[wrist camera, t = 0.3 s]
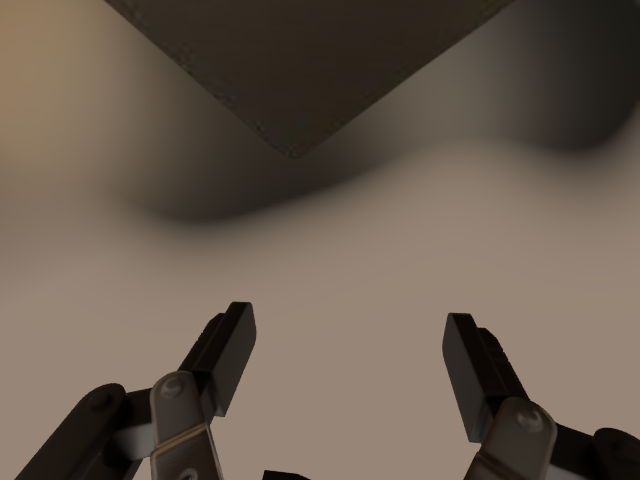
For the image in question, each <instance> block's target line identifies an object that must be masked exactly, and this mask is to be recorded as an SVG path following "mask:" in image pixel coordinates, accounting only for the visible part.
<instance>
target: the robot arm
mask: <svg viewBox="0 0 640 480" xmlns="http://www.w3.org/2000/svg"><path fill="white" fill-rule="evenodd" d="M255 341H256V326H255V319H254V314H253V308H252V304H251V303H250V302H232V303H231V304H230V306H229V308H228V309H227V311H226V313H219V314H218V315H216V316H215V317H214V318H213V319H211V320H210V321H209V323H208V324H207V326H206V327H205V329H204V330H203V333H201V335H200V336H199V338H198V341H196V342H195V344H194V346H193V347H192V349H191V350H190V352H189V354H188V355H187V357H186V358H185V359H184V361H183V363H182V364H181V366H180V367H179V369H178V370H177V371H175V372H172V373H169V374H167V375H165V376H164V377H162V378H161V379H160V380H158V381H157V382H156V384H155V385H154V386H153V387H152V388H149V389H144V390H139V391H134V392H129V393H126V391H125V389H124V387H123V386H122V385H120V384H117V383H110V384H106V385H102V386H100V387H98V388H96V389H94V390H92V391H91V392H89V393H88V394H87V395H85V397H83V398H82V399H81V400H80V401H79V403H78V404H77V405H76V406H75V408H74V409H73V410H72V411H71V412H70V413H69V415H68V416H67V417H66V418H65V419H64V421H63V422H62V423H61V424H60V425H59V427H58V428H57V429H56V430H55V431H54V433H53V434H52V435H51V436H50V437H49V439H48V440H47V441H46V442H45V443H44V445H43V446H42V447H41V448H40V449H39V451H38V452H37V453H36V454H35V455H34V457H33V458H32V459H31V460H30V462H29V463H28V464H27V465H26V466H25V467H24V469H23V470H22V471H21V472H20V474H19V475H18V476H17V477H16V479H15V480H132V479H133V477H134V475H135V473H136V472H137V470H138V468H139V466H140V464H141V462H142V460H143V458H146V457H150V464H151V477H152V480H224V478H223V474H222V471H221V467H220V463H219V459H218V455H217V452H216V448H215V444H214V440H213V437H212V434H211V429H210V424H211V422H212V420H213V417H214V416H219V417H225V415H226V412H227V410H228V408H229V405H230V402H231V400H232V398H233V395H234V393H235V391H236V388H237V386H238V383H239V381H240V378H241V376H242V374H243V371H244V369H245V366H246V364H247V362H248V359H249V357H250V354H251V352H252V350H253V347H254V345H255ZM442 350H443V357H444V361H445V364H446V367H447V370H448V374H449V377H450V380H451V384H452V387H453V390H454V394H455V397H456V400H457V404H458V407H459V410H460V413H461V417H462V420H463V423H464V427H465V430H466V433H467V436H468V440H469V442H473V443H481V445H482V446H481V448H480V450H479V452H477V453H476V455H475V457H474V459H473V461H472V463H471V465H470V467H469V469H468V471H467V473H466V475H465V477H464V479H463V480H640V440H639V439H637V438H635V437H634V436H632V435H630V434H628V433H626V432H623V431H621V430H618V429H613V428H601V429H598V430H597V431H596V432H595V434H594V436H591V435H588V434H585V433H582V432H579V431H577V430H574V429H571V428H568V427H565V426H563V425H560V424H558V423H556V422H554V420H553V419H552V417H551V416H550V415H549V414H548V413H547V412H546V411H545V410H544V409H543V408H542V407H540V406H539V405H538V404H536V403H534V402H532V401H530V399H529V397H528V395H527V394H526V392H525V390H524V388H523V387H522V384H521V382H520V381H519V379H518V377H517V375H516V373H515V372H514V370H513V368H512V366H511V364H510V362H508V358H507V356H506V355H505V353H504V352H503V349H502V347H501V346H500V343H499V342H498V340H497V338H496V337H494V335H493V334H491V333H490V332H489V331H488V330H487V329H486V328H477V326H476V324H475V322H474V319H473V318H472V316H471V315H470V314H467V313H449V314H448V317H447V322H446V327H445V332H444V337H443V344H442ZM262 480H310V479H308V478H306V477H303V476H301V475H299V474H294V473H286V472H277V471H269V470H265V471H264V475H263V479H262Z"/></svg>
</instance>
